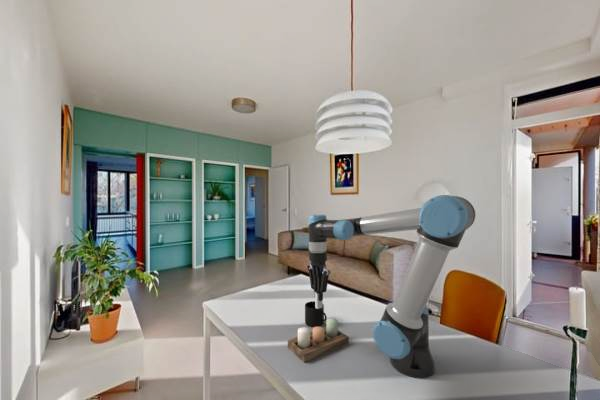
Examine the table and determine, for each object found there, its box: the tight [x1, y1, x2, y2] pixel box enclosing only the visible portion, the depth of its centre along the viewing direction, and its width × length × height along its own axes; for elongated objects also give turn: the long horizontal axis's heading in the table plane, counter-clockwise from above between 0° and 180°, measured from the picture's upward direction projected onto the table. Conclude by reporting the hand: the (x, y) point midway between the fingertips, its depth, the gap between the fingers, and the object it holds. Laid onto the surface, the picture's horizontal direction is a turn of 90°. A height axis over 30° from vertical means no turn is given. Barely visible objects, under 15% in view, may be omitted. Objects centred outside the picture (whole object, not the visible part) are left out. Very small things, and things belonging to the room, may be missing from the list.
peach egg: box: [312, 326, 325, 344], centre depth 106 cm, size 5×5×6 cm
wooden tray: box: [287, 326, 350, 364], centre depth 106 cm, size 12×23×3 cm, turn 123°
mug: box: [304, 300, 328, 328], centre depth 126 cm, size 9×12×9 cm
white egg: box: [297, 326, 311, 350], centre depth 102 cm, size 5×5×6 cm
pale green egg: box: [325, 317, 339, 338], centre depth 111 cm, size 5×5×6 cm
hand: (318, 307), depth 106 cm, fingers closed
